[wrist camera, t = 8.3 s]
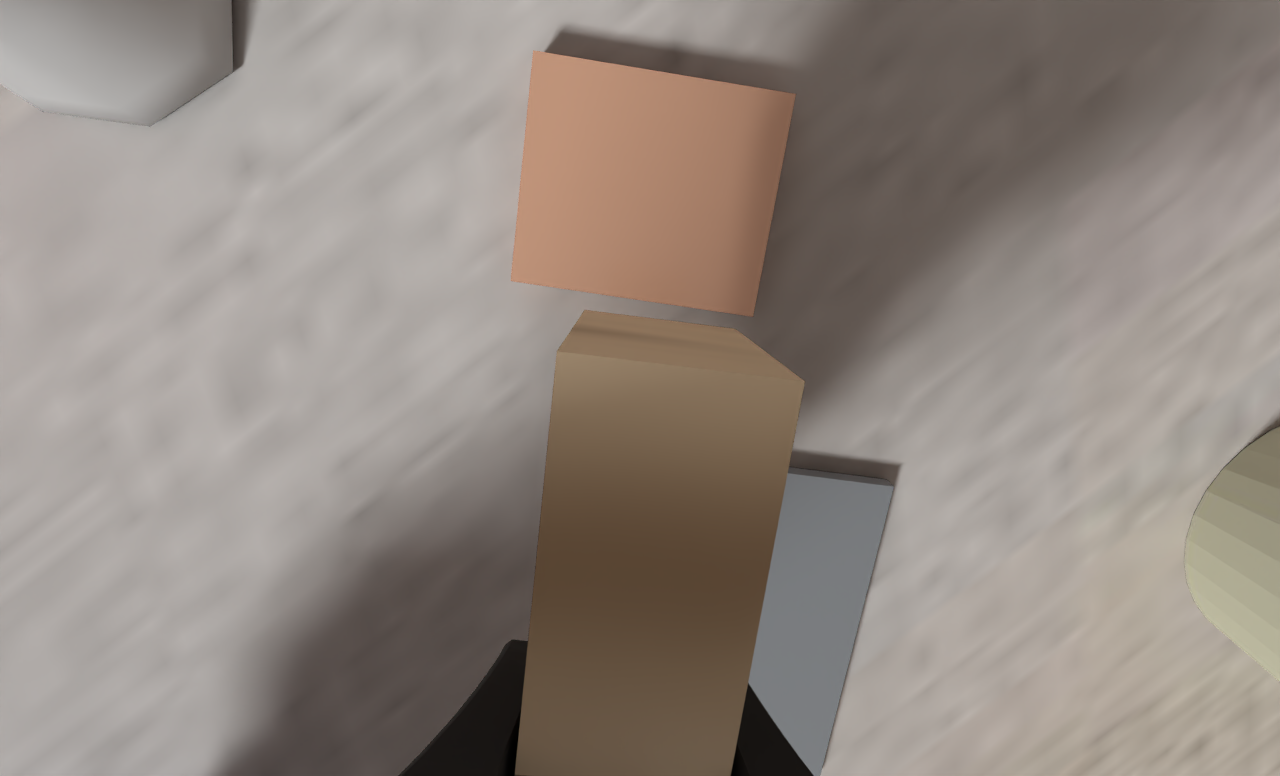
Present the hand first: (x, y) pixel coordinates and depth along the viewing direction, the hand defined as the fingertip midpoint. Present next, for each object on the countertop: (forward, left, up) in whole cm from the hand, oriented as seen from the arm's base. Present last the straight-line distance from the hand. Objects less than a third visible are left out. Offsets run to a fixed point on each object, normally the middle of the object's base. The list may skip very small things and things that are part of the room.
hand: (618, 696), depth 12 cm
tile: (+7, +1, -9) cm, 11 cm away
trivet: (-4, -4, -9) cm, 11 cm away
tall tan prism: (+2, 0, -2) cm, 3 cm away
